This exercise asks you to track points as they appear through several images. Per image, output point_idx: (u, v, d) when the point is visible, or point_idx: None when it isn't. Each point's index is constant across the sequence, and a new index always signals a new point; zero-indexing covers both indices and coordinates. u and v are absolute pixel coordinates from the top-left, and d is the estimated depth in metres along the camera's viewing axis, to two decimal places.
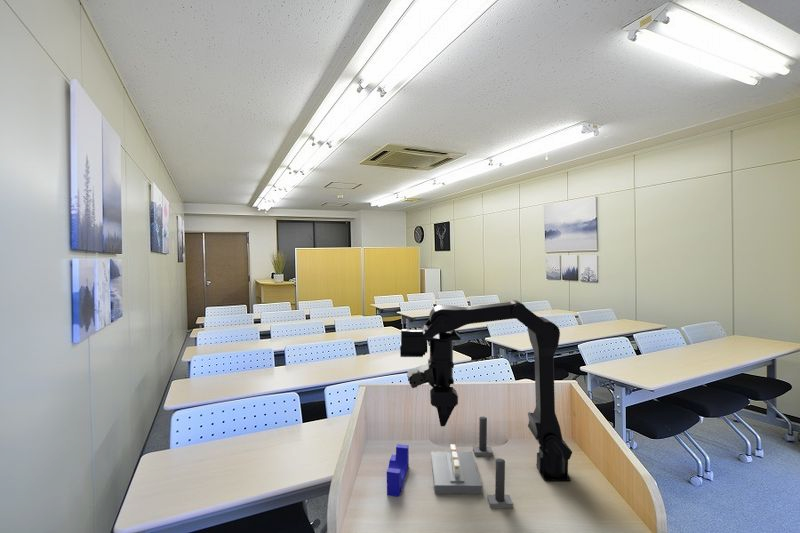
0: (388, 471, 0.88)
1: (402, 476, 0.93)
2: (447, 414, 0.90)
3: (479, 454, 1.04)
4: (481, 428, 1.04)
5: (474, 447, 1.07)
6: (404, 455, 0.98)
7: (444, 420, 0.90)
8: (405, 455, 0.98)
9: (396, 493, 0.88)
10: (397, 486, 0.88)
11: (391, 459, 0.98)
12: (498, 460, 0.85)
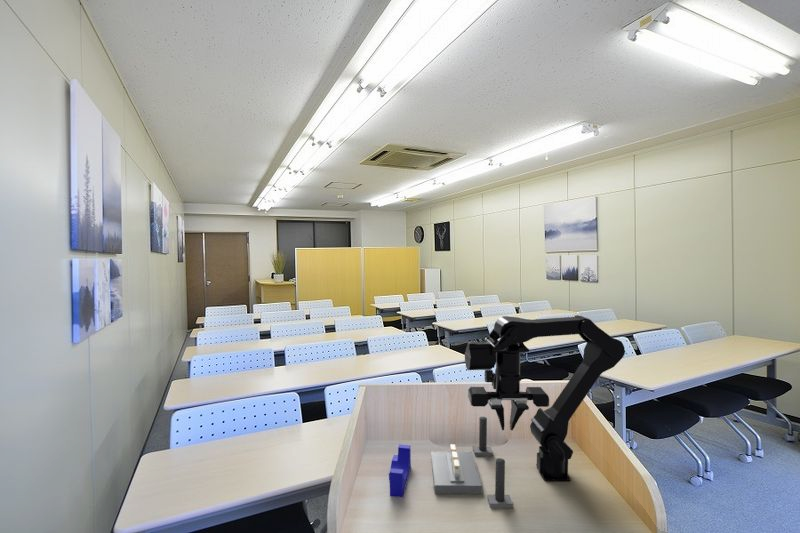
0: (391, 471, 0.88)
1: (405, 476, 0.93)
2: (498, 418, 0.93)
3: (479, 454, 1.04)
4: (481, 428, 1.04)
5: (474, 447, 1.07)
6: (406, 455, 0.97)
7: (500, 423, 0.94)
8: (407, 455, 0.97)
9: (399, 493, 0.88)
10: (400, 486, 0.88)
11: (393, 459, 0.98)
12: (498, 460, 0.85)
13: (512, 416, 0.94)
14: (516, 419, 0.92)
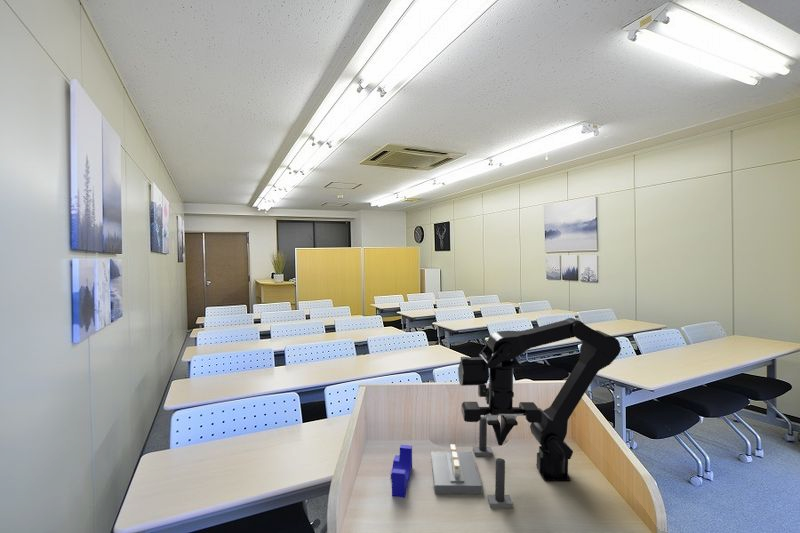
0: (393, 471, 0.88)
1: (406, 477, 0.93)
2: (495, 433, 0.94)
3: (479, 454, 1.04)
4: (481, 428, 1.04)
5: (474, 447, 1.07)
6: (408, 456, 0.97)
7: None
8: (409, 456, 0.97)
9: (401, 494, 0.88)
10: (402, 487, 0.88)
11: (395, 460, 0.98)
12: (498, 460, 0.85)
13: (501, 431, 0.94)
14: (505, 434, 0.93)
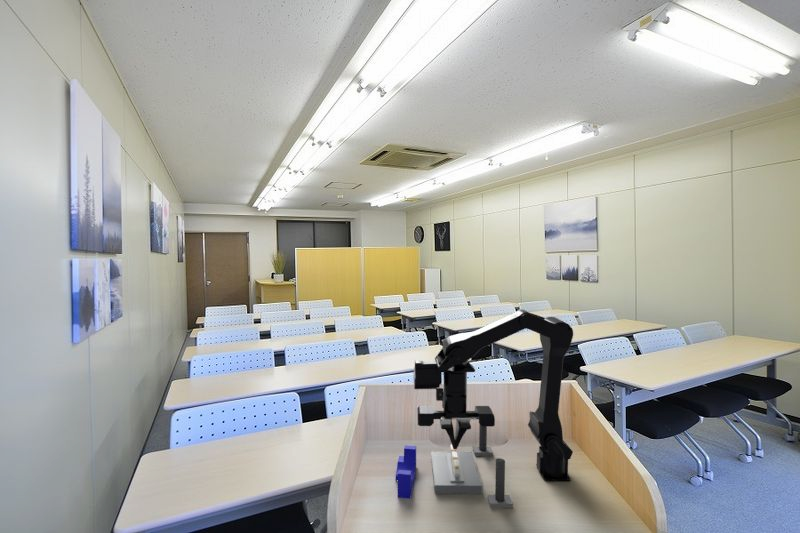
0: (399, 473, 0.88)
1: (411, 477, 0.93)
2: None
3: (479, 454, 1.04)
4: (481, 428, 1.04)
5: (474, 447, 1.07)
6: (412, 456, 0.97)
7: (451, 442, 0.95)
8: (413, 456, 0.97)
9: (407, 495, 0.87)
10: (408, 488, 0.87)
11: (399, 461, 0.97)
12: (498, 460, 0.85)
13: (456, 435, 0.95)
14: (459, 438, 0.93)
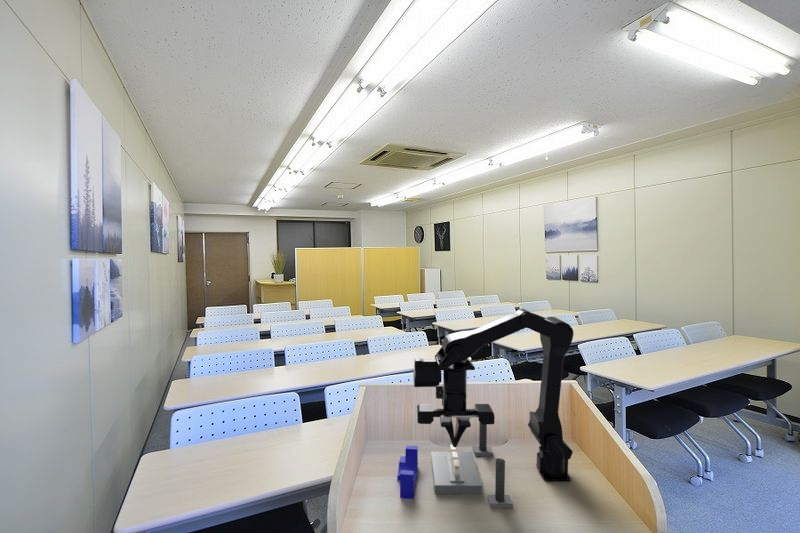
0: (402, 473, 0.87)
1: (413, 478, 0.93)
2: (449, 435, 0.94)
3: (479, 454, 1.04)
4: (481, 428, 1.04)
5: (474, 447, 1.07)
6: (414, 456, 0.97)
7: (451, 440, 0.95)
8: (415, 456, 0.97)
9: (409, 495, 0.87)
10: (411, 488, 0.87)
11: (401, 461, 0.97)
12: (498, 460, 0.85)
13: (456, 433, 0.94)
14: (459, 436, 0.93)
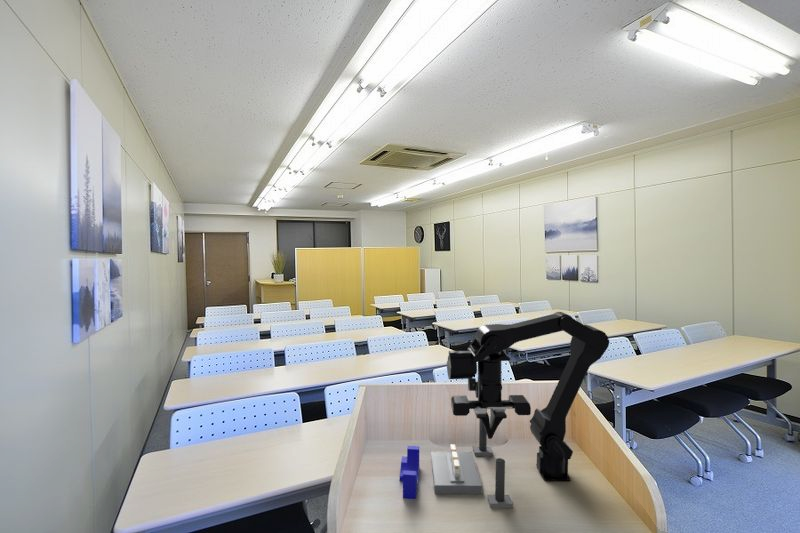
0: (404, 473, 0.87)
1: (416, 478, 0.93)
2: (484, 426, 0.94)
3: (479, 454, 1.04)
4: (481, 428, 1.04)
5: (474, 447, 1.07)
6: (416, 456, 0.97)
7: (486, 432, 0.94)
8: (417, 456, 0.97)
9: (412, 495, 0.87)
10: (413, 488, 0.87)
11: (402, 461, 0.97)
12: (498, 460, 0.85)
13: (491, 425, 0.94)
14: (495, 428, 0.93)
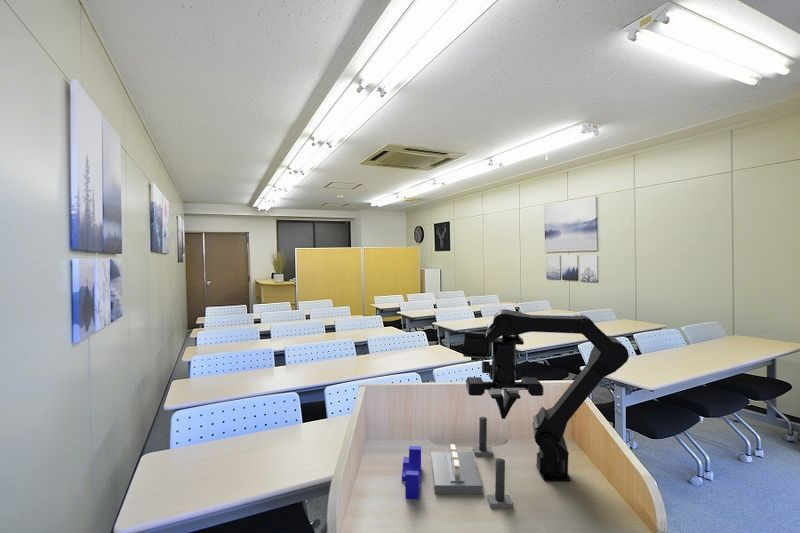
0: (407, 473, 0.87)
1: None
2: (498, 406, 0.97)
3: (479, 454, 1.04)
4: (481, 428, 1.04)
5: (474, 447, 1.07)
6: (417, 457, 0.97)
7: (500, 412, 0.98)
8: (418, 457, 0.97)
9: (415, 495, 0.87)
10: (416, 488, 0.87)
11: (404, 461, 0.97)
12: (498, 460, 0.85)
13: (504, 405, 0.98)
14: (508, 408, 0.96)
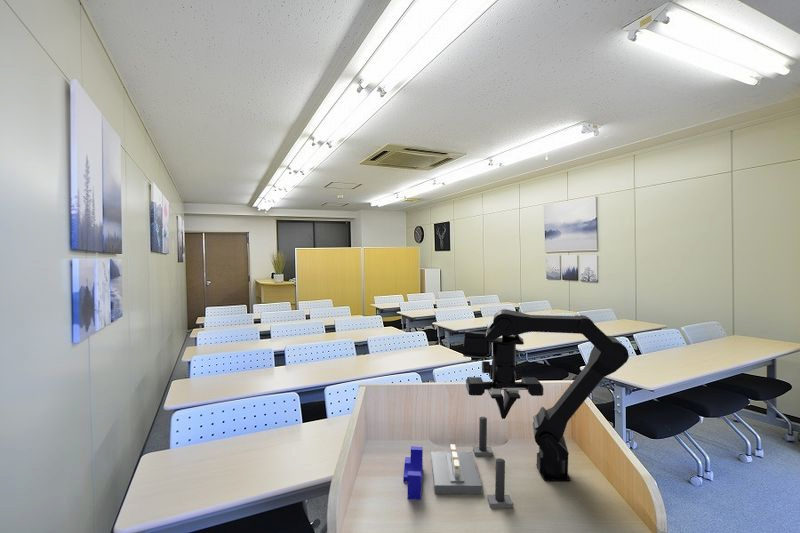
0: (409, 474, 0.87)
1: None
2: (498, 406, 0.97)
3: (479, 454, 1.04)
4: (481, 428, 1.04)
5: (474, 447, 1.07)
6: (419, 457, 0.97)
7: (500, 412, 0.98)
8: (420, 457, 0.97)
9: (417, 496, 0.87)
10: (418, 489, 0.87)
11: (406, 462, 0.97)
12: (498, 460, 0.85)
13: (504, 405, 0.98)
14: (508, 408, 0.96)
